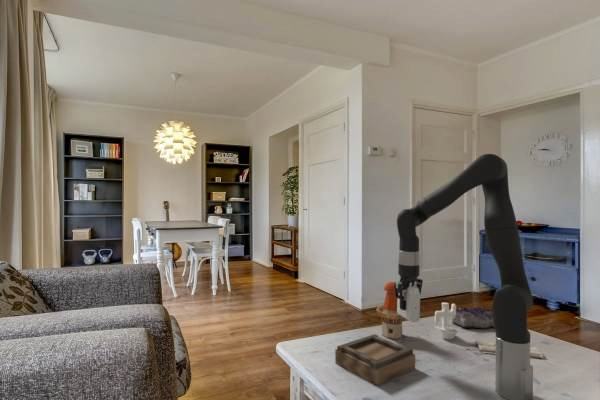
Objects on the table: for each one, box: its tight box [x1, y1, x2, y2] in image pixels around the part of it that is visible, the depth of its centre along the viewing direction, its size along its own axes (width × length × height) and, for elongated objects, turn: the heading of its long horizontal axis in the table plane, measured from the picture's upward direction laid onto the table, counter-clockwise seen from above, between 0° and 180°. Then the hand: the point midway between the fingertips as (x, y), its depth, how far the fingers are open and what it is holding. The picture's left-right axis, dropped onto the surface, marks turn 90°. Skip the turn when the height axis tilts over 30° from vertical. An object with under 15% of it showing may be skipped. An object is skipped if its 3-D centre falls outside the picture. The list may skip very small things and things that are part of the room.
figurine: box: [433, 302, 459, 340], centre depth 156 cm, size 7×9×15 cm
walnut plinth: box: [334, 333, 416, 387], centre depth 128 cm, size 20×20×6 cm
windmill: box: [376, 281, 405, 340], centre depth 156 cm, size 17×14×30 cm
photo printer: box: [397, 286, 421, 323], centre depth 131 cm, size 10×4×12 cm, turn 16°
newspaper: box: [475, 340, 544, 359], centre depth 141 cm, size 23×12×2 cm, turn 72°
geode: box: [451, 306, 494, 330], centre depth 170 cm, size 20×12×10 cm, turn 90°
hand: (408, 308), depth 131 cm, fingers closed on photo printer, 5 cm apart
